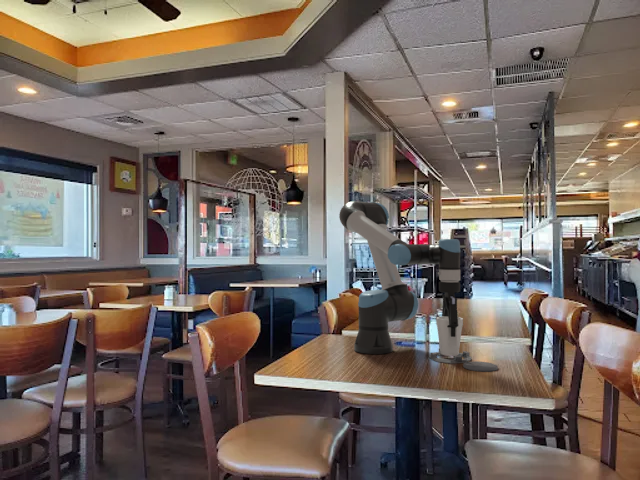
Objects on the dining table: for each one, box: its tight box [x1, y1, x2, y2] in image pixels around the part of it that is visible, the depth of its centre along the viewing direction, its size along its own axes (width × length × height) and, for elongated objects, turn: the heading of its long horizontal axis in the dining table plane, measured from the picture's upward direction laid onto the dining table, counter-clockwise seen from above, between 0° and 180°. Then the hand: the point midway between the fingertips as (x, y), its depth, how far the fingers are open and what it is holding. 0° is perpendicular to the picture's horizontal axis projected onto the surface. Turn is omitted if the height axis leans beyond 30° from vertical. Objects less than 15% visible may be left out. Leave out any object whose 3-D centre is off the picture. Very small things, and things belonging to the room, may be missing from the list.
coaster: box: [462, 360, 499, 373], centre depth 164 cm, size 11×11×1 cm
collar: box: [428, 348, 472, 364], centre depth 178 cm, size 14×14×2 cm
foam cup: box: [435, 315, 464, 357], centre depth 178 cm, size 10×9×13 cm
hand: (449, 342), depth 178 cm, fingers closed on foam cup, 9 cm apart
